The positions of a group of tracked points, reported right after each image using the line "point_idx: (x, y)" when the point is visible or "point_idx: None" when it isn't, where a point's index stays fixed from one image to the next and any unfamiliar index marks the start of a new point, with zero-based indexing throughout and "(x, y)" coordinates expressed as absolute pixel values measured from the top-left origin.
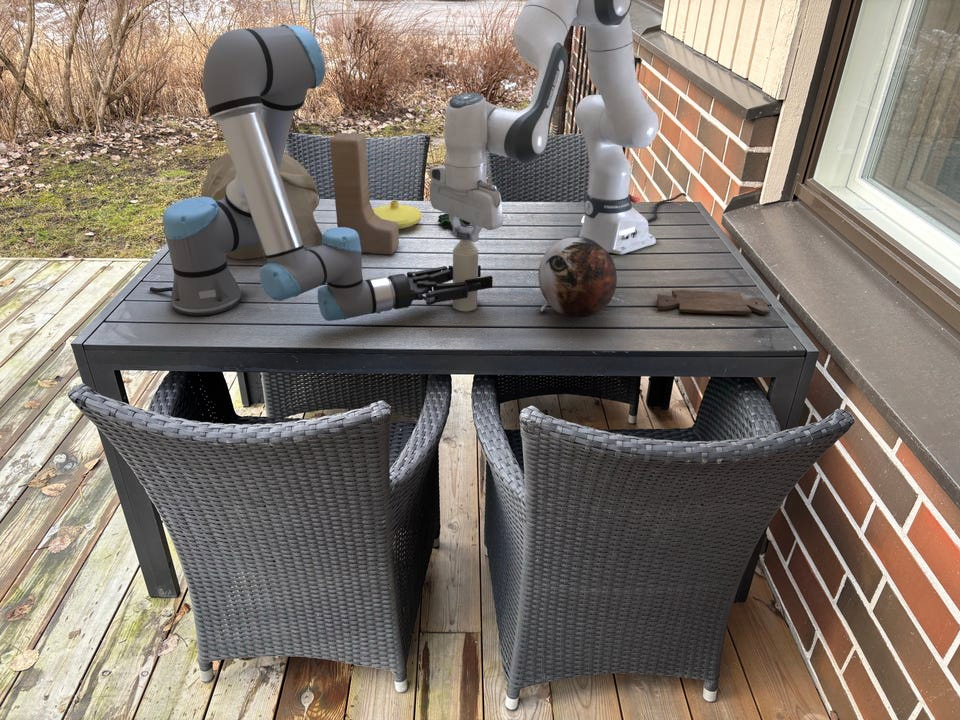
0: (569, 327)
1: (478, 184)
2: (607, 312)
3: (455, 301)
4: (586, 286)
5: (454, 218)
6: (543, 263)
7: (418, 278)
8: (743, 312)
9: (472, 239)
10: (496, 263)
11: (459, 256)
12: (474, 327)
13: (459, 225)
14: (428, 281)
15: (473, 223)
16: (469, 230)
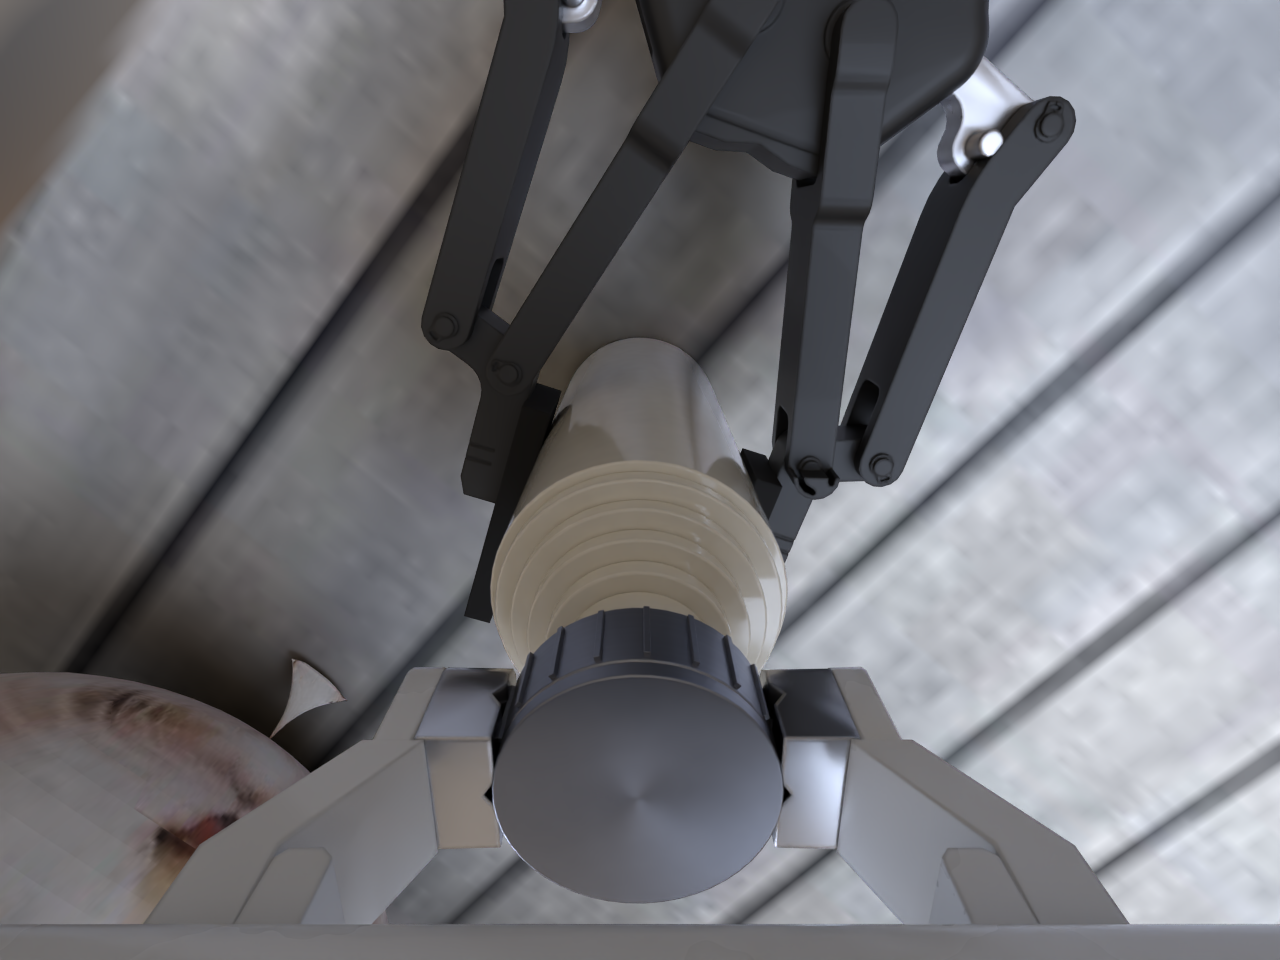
0: (96, 651)
1: None
2: None
3: (644, 347)
4: None
5: (943, 900)
6: (55, 920)
7: (838, 46)
8: None
9: (401, 688)
10: None
11: (586, 464)
12: (373, 261)
13: (849, 840)
14: (773, 154)
15: (54, 935)
16: (580, 824)
